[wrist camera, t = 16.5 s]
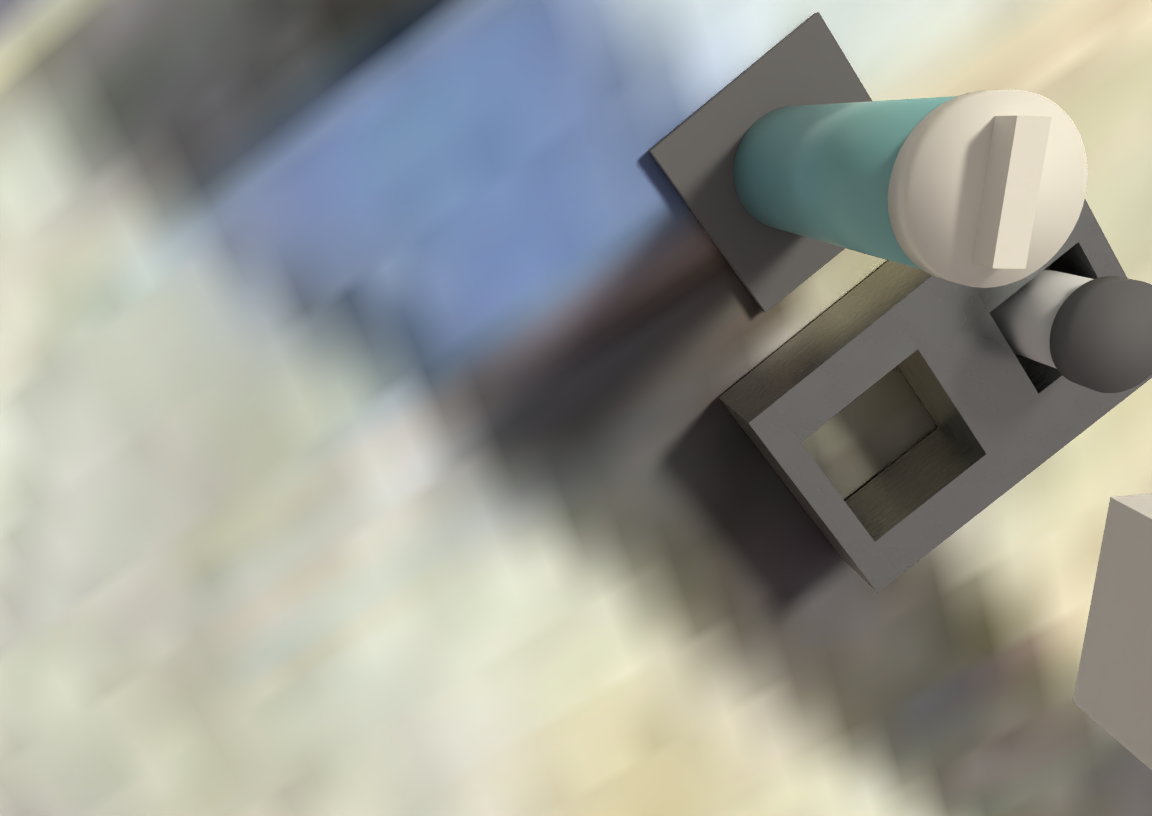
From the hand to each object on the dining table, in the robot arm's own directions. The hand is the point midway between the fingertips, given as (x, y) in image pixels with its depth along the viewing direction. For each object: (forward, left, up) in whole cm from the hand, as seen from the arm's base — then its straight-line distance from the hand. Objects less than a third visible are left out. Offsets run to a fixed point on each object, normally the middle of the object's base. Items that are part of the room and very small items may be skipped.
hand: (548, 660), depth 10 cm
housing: (+18, +14, -31) cm, 39 cm away
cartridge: (+6, +14, -31) cm, 34 cm away
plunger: (+18, +19, -30) cm, 40 cm away
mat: (+6, +14, -31) cm, 35 cm away
